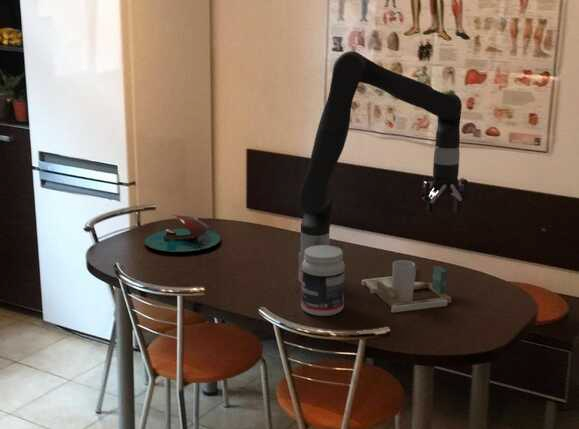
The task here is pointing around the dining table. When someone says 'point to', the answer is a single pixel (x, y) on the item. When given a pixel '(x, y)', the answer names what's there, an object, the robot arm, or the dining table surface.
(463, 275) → the dining table surface
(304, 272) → the supplement tub
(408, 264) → the mug
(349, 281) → the dining table surface
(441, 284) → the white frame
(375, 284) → the plain strip
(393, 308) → the lane rails
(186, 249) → the boat on round base
